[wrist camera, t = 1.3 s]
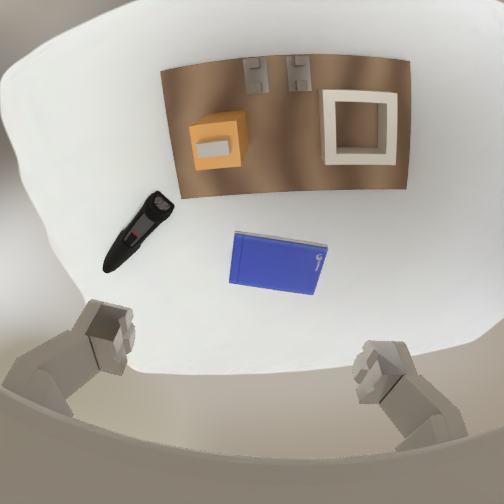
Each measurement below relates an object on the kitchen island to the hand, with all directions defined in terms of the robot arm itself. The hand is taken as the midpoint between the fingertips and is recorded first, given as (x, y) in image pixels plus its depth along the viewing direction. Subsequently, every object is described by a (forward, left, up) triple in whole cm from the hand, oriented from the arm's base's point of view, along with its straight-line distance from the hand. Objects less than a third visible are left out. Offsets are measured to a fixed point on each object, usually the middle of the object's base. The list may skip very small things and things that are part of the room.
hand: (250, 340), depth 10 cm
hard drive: (0, +16, -29) cm, 34 cm away
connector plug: (+4, -3, -27) cm, 28 cm away
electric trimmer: (+19, +10, -29) cm, 36 cm away
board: (-3, -3, -29) cm, 29 cm away
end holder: (-10, -3, -27) cm, 29 cm away
